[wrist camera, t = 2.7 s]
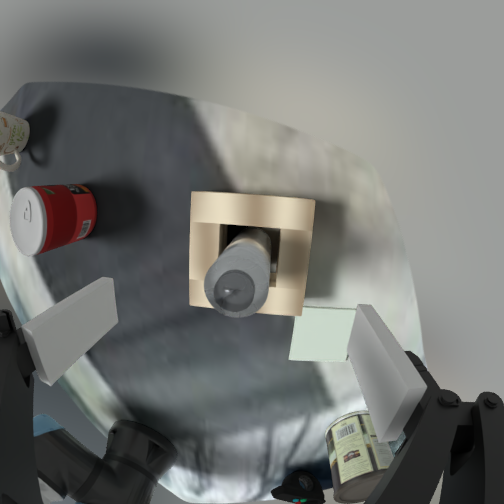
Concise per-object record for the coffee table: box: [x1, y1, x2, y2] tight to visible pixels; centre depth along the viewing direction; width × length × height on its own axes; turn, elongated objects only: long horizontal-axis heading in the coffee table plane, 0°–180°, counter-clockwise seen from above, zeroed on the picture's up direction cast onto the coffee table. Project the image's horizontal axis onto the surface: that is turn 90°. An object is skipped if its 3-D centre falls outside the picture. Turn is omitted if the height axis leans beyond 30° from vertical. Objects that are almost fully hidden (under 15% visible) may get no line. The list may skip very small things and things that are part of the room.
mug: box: [0, 111, 30, 172], centre depth 26 cm, size 8×13×10 cm, turn 35°
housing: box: [189, 191, 315, 316], centre depth 29 cm, size 12×12×5 cm
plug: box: [204, 227, 271, 318], centre depth 24 cm, size 4×4×15 cm
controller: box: [271, 471, 326, 504], centre depth 37 cm, size 4×12×10 cm, turn 54°
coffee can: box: [325, 411, 394, 504], centre depth 31 cm, size 10×10×14 cm
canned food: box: [10, 184, 97, 256], centre depth 27 cm, size 8×8×11 cm
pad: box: [289, 306, 356, 362], centre depth 33 cm, size 8×8×1 cm
